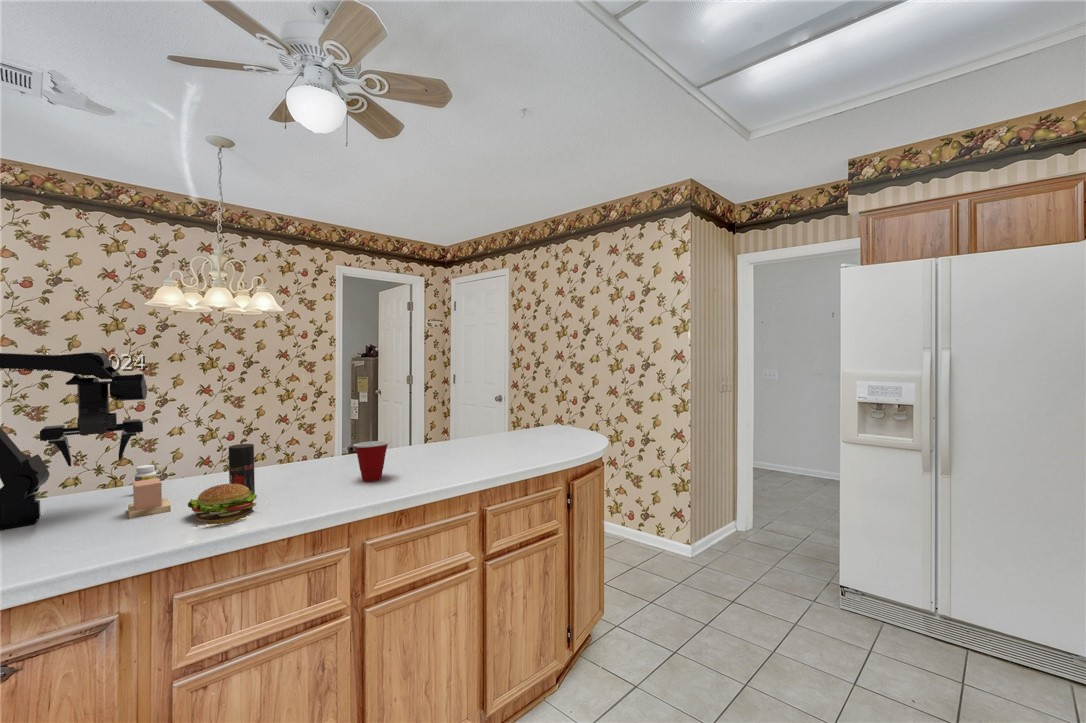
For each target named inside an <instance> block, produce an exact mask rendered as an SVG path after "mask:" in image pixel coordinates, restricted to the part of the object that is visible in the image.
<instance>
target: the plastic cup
mask: <svg viewBox="0 0 1086 723" xmlns="http://www.w3.org/2000/svg"><path fill="white" fill-rule="evenodd" d="M388 444H390V442H389V441H385V440H374V441H373V440H371V441H363V442H358V443H355V444H353V447H354V449H355V452H356V455H357V461H358V465H359V466H358V467H359V470H360V475H361V479H362V482H367V483H368V482H370V483H371V482H377V481H380V480H381V479H382V477H383V469H384V467H385V460H386V453H387V448H388Z"/></svg>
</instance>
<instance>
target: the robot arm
mask: <svg viewBox="0 0 1086 723" xmlns="http://www.w3.org/2000/svg"><path fill="white" fill-rule="evenodd" d="M0 369H3V370H5V369H8V370H35V371H36V370H38V371H39V370H41V371H42V370H43V371H58V372H63V373H67V374H73V376H72V378H70V379H69V380H68V381H65V383H64V384H65V385H67V386H75V385H76V386H77V387H76V388H77V389H76V390H77V391H76V392H77V412H78V413H77V416H78V417H77V418H76V419H77V422H76V423H77V426H76V427H75V426H73V427H66V425H65V424H60V425H59V424H58V425H49V426H48V425H47V426H46V425H45V426H44V427H43V428H41V430H40V431H39V441H40V442H46V441H47V443H48V444H49V445H50V444H54V445H55V446H56V447H57V448H58V450H59V451H60V452H61V454H62V457H63V458H64V459H65V462H66V464H67V466H68V467H71V466H72V456H71V451H70V450H71V449H70V445H69V441H68V436H72V435H73V436H75V435H80V436H83V437H84V436H87V437H88V436H89V435H104V434H106V433H108V432H109V433H110V432H117V431H118V432H119V431H121V434H120V442H119V447H118V448H119V449H118V461H122V458H123V455H124V452H125V450H126V447H127V444H128V443H129V441H130V440H131V438H132V437H135V436H137V433H142V432H144V425H143V424H144V423H143V420H142V419H140V418H138V419H137V418H136V419H125V420H124V419H123V420H122V423H121V422H120V423H118V422H117V421H118V420H117V419H118V418H117V412H110V400H109V399H110V398H109V397H111V398H113V399H115V400H116V401H117V402H118V401H123V402H124V401H142V400H143V401H144V400H146V399H147V396H148V385H147V382H146V379H145V374H144V373H135V374H121V373H119V371H117V370H116V369H115V368H114V367H113V366H112V365H111V361H110V358H109V357H108V356H107V355H106V354H105V353H103V352H98V351H97V352H93V351H91V352H81V353H80V352H79V353H70V354H69V353H68V354H37V353H36V354H34V353H12V352H11V353H9V352H8V353H7V352H0ZM83 376H87V377H83ZM89 376H90V377H89ZM91 376H92V377H91ZM109 395H110V396H109ZM49 468H50V465H48V464H46V463H45V462H44V461H43V459H42V457H41V456H40V454H35V455H33V456H30V455H28V454H25V453H24V452H22V450H21V449H20V448H19V447H18V446H17V445H16V444H15V443H14V442H13V440H12V439H11V438H10V436H8V434H7V433H6V432H5V431H4V429H2V427H1V426H0V482H1V483H2V487H0V530H5V529H11V528H16V527H17V528H18V527H22V526H23V527H24V526H28V525H35V524H36V523H37V521H38V520H39V519H40V518H41V517H42V516H41V500H40V499H37V496H38V495H37V493H38V492H39V490H40V487H41V486H42V485H44V484H46V483H47V481H48V480H49V477H50V475H51V474H50V472H49Z"/></svg>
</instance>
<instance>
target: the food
mask: <svg viewBox="0 0 1086 723" xmlns="http://www.w3.org/2000/svg"><path fill="white" fill-rule="evenodd" d="M257 497H258V495H257V494H256V493H255V494H253V492H252V491H249V489H248V488H247V487H246V486H244V485H241V484H229V483H223V484H218V485H214V486H211V487H209V488H207V489H205V490H203V491H201V493H200V494H199V495H198V497H197V499H196V498H195V499H193V498H191V499H190V500H189V501H188V503H187V507H188V508H190V509H191V511H193V513H194V514H195V517H196V518H195V519H196V521H199V522H203V523H204V522H205V523H207V525H219V523H220V524H226V522H227V523H231V522H234V521H238V519H239V520H240V519H243V518H245V517H246V515H247V514H249V513H250V512H251V511H253V510H252V509H253V508H254V507H256V506H257V502H254V501H255V500H256V499H257Z"/></svg>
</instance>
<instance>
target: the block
mask: <svg viewBox="0 0 1086 723" xmlns="http://www.w3.org/2000/svg"><path fill="white" fill-rule="evenodd" d="M162 485H163V484H162V481H161V479H160V478H159V477H157V478H154V479H147V480H140V481H135V480H134V481H132V486H133V487H132V490H133V492H132V493H133V494H132V495H133V498H132V500H133V504H134V507H135V509H136V511H137V510H142V509H147V508H153V507H158V506H162V499H163V496H162V491H163V490H162V489H163V488H162Z"/></svg>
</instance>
